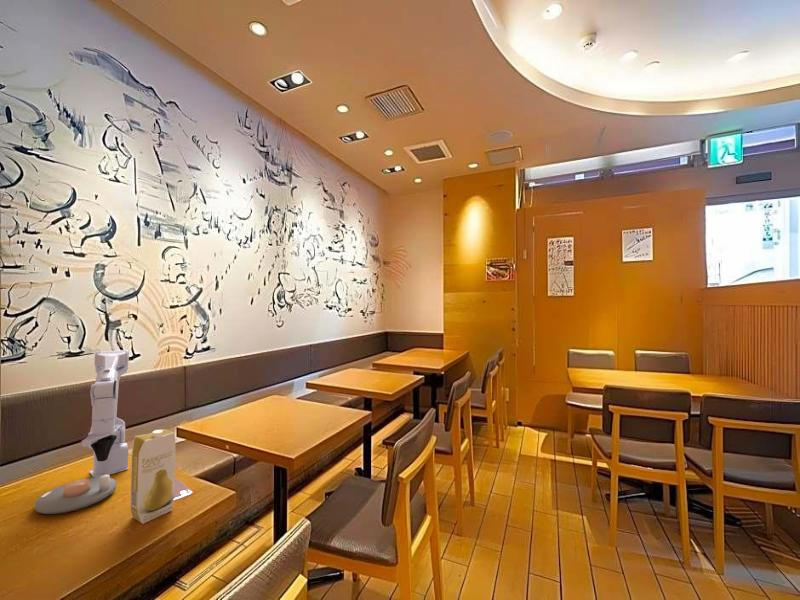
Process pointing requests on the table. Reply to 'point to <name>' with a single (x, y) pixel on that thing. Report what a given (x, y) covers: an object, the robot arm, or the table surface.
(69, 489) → the pink rounded disc
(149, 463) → the juice carton
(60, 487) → the turntable
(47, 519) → the table surface
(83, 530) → the table surface
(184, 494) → the mobile phone
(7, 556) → the table surface
